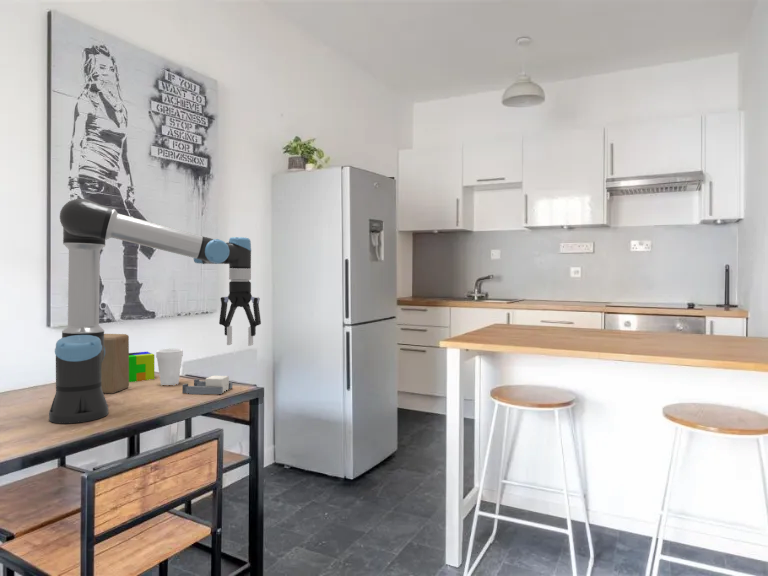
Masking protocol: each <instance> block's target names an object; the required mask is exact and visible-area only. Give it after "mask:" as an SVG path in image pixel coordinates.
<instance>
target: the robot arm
mask: <svg viewBox="0 0 768 576" xmlns="http://www.w3.org/2000/svg"><path fill="white" fill-rule="evenodd" d="M59 221H60V224H61V226H62V228H63V229H62V230H63V231H62V236H63V237H62V238H63V239H62V245H64V247H66V248H67V250H68V273H67V274H68V276H67V277H68V280H67V281H68V282H67V283H68V286H67V287H68V289H67V290H68V291H67V292H68V293H67V298H68V299H67V325H66V327H65V328H64V329H63V330H62V331H61V338H59V339H57V341H56V343H55V348H54V354H55V395H54V397H53V401H52V403H51V405H50V409H49V411H48V421H49V422H51V423H56V424H76V423H84V422H90V421H95V420H98V419H99V420H100V419H102V418H104V417H106V416H107V415H109V404H108V402H107V399H106V397H105V393H103V391H102V385H101V381H102V379H101V364H102V361H103V359H104V357H105V347H104V334H105V330H104V328H103V327H101V325H100V281H101V279H100V273H101V272H100V268H101V267H100V266H101V263H100V261H101V255H100V253H101V250H102V249H104V248H105V247H106V241H107V240H109V239H111V238H112V239H116V240H120V241H124V242H128V243H132V244H135V245H141V246H144V247H148V248H152V249H157V250H160V251H165V252H168V253H173V254H176V255H181V256H184V257H188V258H193V262H194V263H195V264H200V265H210V264H211V265H214V264H215V265H217V264H218V265H223V264H224V265H228V275H229V277H228V280H230V281H229V283H228V284H229V285H228V292H229V293H228V296H222V297H220V302H221V303H220V304H221V305H220V314H219V322H218V323H219V325H220V326H224V336H226V346H230V345H232V344H233V326H232V325H231V323H232V321H233V318H234V315H235V312H236V309H238V308H239V307H240V308H243V310H244V312H245V315H246V317H247V321H248V323H249V327H247V328H248V329H247V330H248V331H247V332H248V335H247V336H248V338H247V339H248V343H247V344H248V346H249V347H250V346H253V345H254V337H256V328H257V326H260V325H261V324H262V321H261V320H262V319H261V313H260V297H259V296H258V297H255V296H252V282H251V281H250V280H251V279H252V267H251V266H252V244H251V243H252V242H251V239H250V238H249V237H243V236H238V237H237V236H236V237H235V236H234V237H233V236H232V237H229V239H228V242H225V241H224V240H221V239H218V238H217V239H214V238H210V237H208V236H207V237H206V236H202V235H199V234H196V233H192V232H189V231H185V230H182V229H177V228H173V227H170V226H166V225H163V224H158V223H154V222H152V221H147V220H144V219H139V218H136V217H132V216H128V215H125V214H121V213H118V211H117V210H116V209H115V208H112V207H109V206H106V205H102V204H100V203H98V202H95V201H93V200H89V199H88V198H87V199H85V198H74V199H72V200H69V201H67V202H66V203H65V204H64V205H62V208H61V209H60V212H59ZM229 302H230V303H231V304H230V307H229V310H228V303H229ZM250 302H251V303H252V307H253V308H252V309H253V312H252V309H251V305H250ZM227 311H228V313H227Z"/></svg>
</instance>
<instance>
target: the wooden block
mask: <svg viewBox="0 0 768 576" xmlns="http://www.w3.org/2000/svg"><path fill="white" fill-rule="evenodd" d="M129 339H130V338H129V334H127V333H104V347H105V357H104V359H103V361H102V364H101V379H102V381H101V385H102V391H103V394H114V393H117V392H120V391H122V390H125V389H128V388H129V385H130V382H129V353H130V351H129V350H130V344H129V343H130V341H129Z"/></svg>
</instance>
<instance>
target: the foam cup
mask: <svg viewBox="0 0 768 576" xmlns="http://www.w3.org/2000/svg"><path fill="white" fill-rule="evenodd" d="M155 352H156V353H155V354H156V355H155V357H156V360H157V367H158V375H159V381H160V382H159V383H160V386H162V385H173V386H176V385H175V384H177V385H179V383H180V375H181V368H182V361H183V356H184V353H183V352H184V351H183V348H161V349H157V350H156V351H155Z"/></svg>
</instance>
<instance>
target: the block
mask: <svg viewBox="0 0 768 576" xmlns="http://www.w3.org/2000/svg"><path fill="white" fill-rule="evenodd" d="M205 381H206V386H211V387H223V393H225V392H227V391H229V390H228V389H229V382H230V377H229V375H211V376H209V377H206V378H205ZM226 390H227V391H226ZM224 391H225V392H224Z"/></svg>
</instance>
